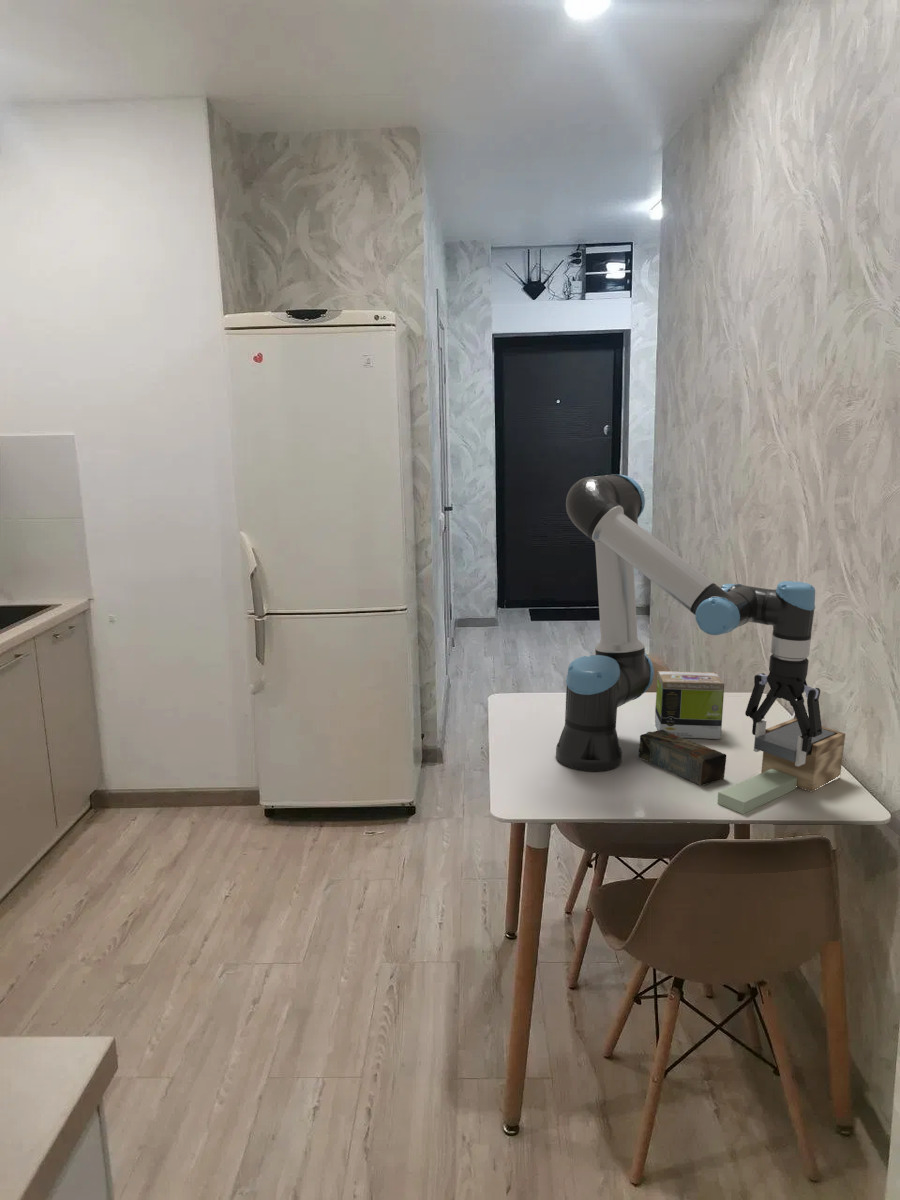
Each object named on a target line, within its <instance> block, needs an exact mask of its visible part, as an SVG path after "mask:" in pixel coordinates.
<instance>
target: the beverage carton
mask: <svg viewBox="0 0 900 1200" xmlns="http://www.w3.org/2000/svg"><path fill="white" fill-rule="evenodd" d="M638 759H641V760H643V761H645V762H647V763H650V764H652V765H654V766H656V767H658V768H661V769H663V770H665V771H668V772H669V773H672V774H675V775H677V776H679V777H682V778H684V779H686V780H688V781H691V782H693V783H695V784H697V785H699V786H702V787H703V786H705V785H706V786H707V785H708V784H711V783H716V782H719V781H721V780H725V773H726V772H725V771H726V765H727V764H726V762H727V754H726V753H723V752H721V751H718V750H715V749H713V748H710V747H708V746H705V745H702V744H700V743H698V742H695V741H692V740H689V739H688V738H687V739H686V738H682V737H680V736H677V735H674V734H671V733H669V732H667V731H665V730H658V729H657V730H655V731H647V732H646V733H643V734H640V735H639V746H638Z"/></svg>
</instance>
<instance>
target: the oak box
mask: <svg viewBox="0 0 900 1200" xmlns="http://www.w3.org/2000/svg"><path fill="white" fill-rule="evenodd" d="M794 722H797V718H796V717H794V718H792V719H788V720H786V721H784V722H782V723H779V724H775V725H774V726H771V727H768V728H766V730H765V734H766V733H769V732H771V731H774V730H776V729H779V728H782V727H784V726H787V725H789V724H792V723H794ZM822 729H825V730H828V731H831V732H834V733H836V735H834V736H831V737H829V738H827V739H824V740H822V741H820V742H817V743H815V744H813V745H812V753H811V754H810V755H808V756H806V760H805V764H803V765H801V766H799V767H798V766H795V761H794V762H792V761H789V760H786V759H783V758H780V757H777V756H775V755H772V754H769V753H766V752H763V751H762V752H763V753H762V761H761V762H762V763H761V770H760V771H761V773H763V772H765V771H768V770H770V769H774V770H777V771H780V772H783V773H786V774H788V775H791V776H794V777H797V785H796V786H797V787H796V788H799V787H800V789H802V788H803V789H802V790H804V789H806V790H805V791H807V790H809V791H808V792H810V791H813V790H815V789H817V788H819V787H820V786H822V785H824V784H826V783H828V782H829V781H831V780H833V779H835V778H836V777H838V776H839V775H840V776H841V772H842V763H843V756H844V749H845V741H846V733H844V732H841V731H838V730H834V729H832V728H828V727H825V726H822ZM761 773H760V774H761ZM819 789H820V788H819ZM817 790H818V789H817ZM815 791H816V790H815ZM813 792H814V791H813Z"/></svg>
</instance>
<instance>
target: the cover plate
mask: <svg viewBox="0 0 900 1200" xmlns="http://www.w3.org/2000/svg"><path fill="white" fill-rule="evenodd" d="M800 735H802V733H801V730H800V727H799V724H798V721H797V722H794V723H792V724H789V725H787V726H784V727H782V728H779V729H776V730H774V731H771V732H769V733H766V734H764V735H761V736H759V737H756V739H755V738H754V741H755V749H757V750H760V751H759V752H766V753H769V754H772V755H775V756H777V757H780V758H783V759H786V760H789V761H792V762H794V761H796V752H797V742H798V736H800ZM834 735H836V733H834V732H831V731H828V730H825V729H822V734H821V735H819V736H816V737H812V741H811V749H810V751H807V752H806V756H808V755H810V754H811V753H812V745H813V744H815V743H817V742H820V741H822V740H824V739H827V738H829V737H831V736H834Z"/></svg>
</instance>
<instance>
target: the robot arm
mask: <svg viewBox="0 0 900 1200" xmlns="http://www.w3.org/2000/svg"><path fill="white" fill-rule="evenodd" d="M645 499H646V498H645V494H644V491H643V489H642V487H641V485H640V484H639V482H637V481H636V480H635V479H634V478H633V477H630V476H628V475H625V474H616V473H615V474H613V473H612V474H605V475H597V476H587V477H584V478H581V479H579V480H578V481H576V482H574V484H573V485H572V486H571V487H570V488H569V490H568V492H567V495H566V499H565V509H566V513H567V516H568V518H569V520H570V521H571V522H572V524H573V525H574V526H575V527H576V528H577V529H578V530H579V531H580V532H582V534H584V535H585V536H586V537H587V538H589V539H590V540H592V541H593V542H594V545H595V546H594V547H595V561H596V578H597V579H596V580H597V595H598V596H597V597H598V612H599V627H600V642H598V643H597V644H596V646H595V647H594V649H595V651H594V652H595V654H592V655H591V654H590V655H589V656H587V655H583V656H580V657H577V658H576V659H574V660H572V661H571V662H570V663H569V665H568V668H567V674H566V677H565V678H566V679H565V683H566V687H565V689H566V690H565V711H564V712H565V713H564V715H565V716H564V717H565V719H564V725H563V728H562V732H561V734H560V737H559V740H558V741H557V745H556V747H555V758H556V760H557V761H558V762H559V763H560V764H562V765H563V766H566V767H567V768H571V769H574V770H580V771H585V772H602V771H603V772H605V771H610V770H614V769H616V768H617V767H619V766H620V765H621V764H622V761H623V749H622V747H621V746H620V741H619V737H618V733H617V718H618V717H617V715H618V708H620V707H621V706H623V705H625V704H627V703H630V702H631V701H634V700H636V699H638V698H640V697H641V696H642V695H644V694H645V693H646V692H647V691H648V690H649V689H650V688H651V686H652V684H653V681H654V677H655V670H654V668H655V667H654V664H653V662H652V660H651V658H649V657H648V655H647V653H646V651H645V644H644V643H643V642H642V641H640V640H639V639H638V638H639V637H638V626H637V625H638V624H637V623H638V622H637V609H636V608H637V607H636V606H637V605H636V604H637V603H636V588H635V570H634V569H636V570H637V571H638V572H640V573H641V574H642V575H643V576H645V577H646V578H648V579H649V580H650V581H651V582H653V584H655V585H656V586H658V587H659V588H660V589H662V590H663V592H665V593H667V595H669V596H670V597H671V598H673V599H674V600H675V601H676V602H678V603H679V604H680V605H682V606H683V607H684V608H685V609H687V610H688V611H689V612H690V613H692V614H693V615H694V616H695V622H696V624H697V625H698V627H699V629H700V630H702V632H703V633H706V634H708V635H711V636H720V635H723V634H728V633H731V632H732V631H734V630H735V629H737V628H738V627H741V626H745V625H746V624H748V623H754V624H760V625H767V626H772V632H771V633H772V634H771V636H772V637H771V644H770V653H771V655H770V657H769V666H768V671H769V672H768V675H766V674H765V673H763V672H762V673H759V674H756V675H754V677H753V679H754V683H753V684H754V685H753V688H752V691H751V694H750V698H749V700H748V703H747V707H746V709H745V713H744V714H745V716H746V717H749V718H751V719H752V731H751V734H752V735H753V736H754V741H753V742H754V743H753V752H755V753H759V752H761V751H760V750H757V749H755V739H756V737H759V736H761V735H764V734H765V730H766V729H767V720H764V719H765V717H766V715H767V714H768V712H769V711H770V709H771V708H772V706H773V705H774V703H775V702H776V700H777V699H783V700H784V701H788V702H789V705H790V706H791V707H792V709H793V712H794V715H795V718H796V719H797V721H798V724H799V727H800V730H801V733H802V735H800V736H798V742H797V752H796V761H795V766H798V767H799V766H801V765H803V764H805V760H806V752H807V751H810V749H811V741H812V737H816V736H819V735H821V734H822V727H823V726H822V718H821V710H820V708H821V707H820V700H819V699H820V695H821V688H819V687H816V688H813V687H811V686H808V684H807V677H808V671H809V659H808V658H809V656H810V650H811V642H812V641H811V640H812V632H813V631H812V630H813V625H814V624H813V622H814V617H815V616H814V614H815V609H816V588H815V587H814V586H813V584H810V583H808V582H804V581H803V582H802V581H793V580H786V581H779V583H777V587H776V588H774V589H771V588H764V587H763V588H761V587H756V586H749V585H743V584H742V583H741V584H740V583H737V584H736V583H724V584H722V585H721V587H720V586H719V585H717V584H716V583H714V581H712V580H711V579H710V578H708V577H707V576H706V575H704V574H703V573H702V572H700V571H699V570H698V569H696V568H695V567H694V566H692V565H691V564H690V563H688V561H686V560H685V559H683V558H682V557H680V556H679V555H678V554H677V553H675V552H674V551H673V550H672V549H670V548H669V547H667V545H665V544H664V543H662V542H661V541H660V540H658V539H657V538H656V537H654V536H653V535H652V534H651V533H650V532H648V531H647V530H645V529H644V528H643V527H641V526H640V525H639V520H638V519H639V518H640V516H641V515H642V513H643V512H644V509H645V504H646V500H645ZM767 684H768V686H769V688H770V690H769V691H768V692H767V694H766V695H765V696H766V697H765V698H764V700H763V701H762V703H761V700H762V698H763V693H764V690H765V688H766V685H767ZM804 693H805V698H806V703H807V705H805V699H804V697H803V696H804V695H803V694H804ZM760 703H761V704H760ZM759 705H760V706H759ZM806 706H807V707H806Z"/></svg>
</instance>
